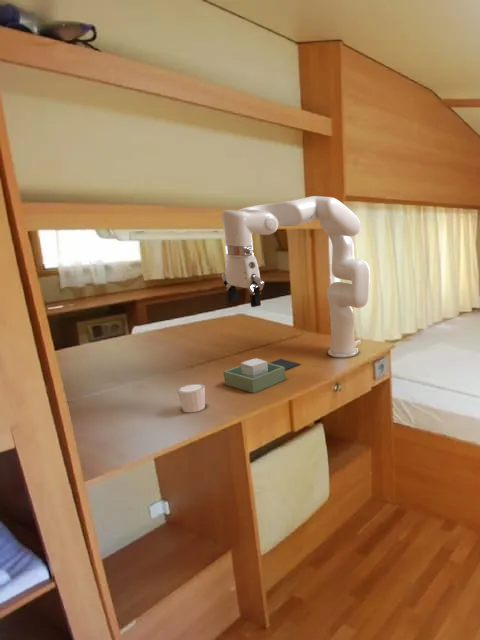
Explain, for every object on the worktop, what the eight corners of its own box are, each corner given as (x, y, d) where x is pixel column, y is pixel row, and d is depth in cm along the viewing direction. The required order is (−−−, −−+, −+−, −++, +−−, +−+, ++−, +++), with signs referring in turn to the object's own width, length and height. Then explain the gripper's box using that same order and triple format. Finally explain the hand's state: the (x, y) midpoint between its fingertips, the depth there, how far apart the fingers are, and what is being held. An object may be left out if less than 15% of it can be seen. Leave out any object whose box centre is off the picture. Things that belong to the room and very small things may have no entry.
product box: (242, 381, 152) (240, 362, 150) (257, 376, 157) (256, 357, 155) (254, 385, 149) (252, 366, 147) (269, 379, 155) (267, 361, 153)
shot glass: (201, 413, 130) (198, 392, 128) (176, 413, 128) (172, 392, 126) (211, 403, 136) (208, 383, 134) (186, 403, 135) (183, 383, 133)
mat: (280, 359, 175) (280, 359, 174) (299, 364, 171) (299, 363, 171) (259, 367, 166) (259, 366, 165) (278, 372, 162) (278, 371, 162)
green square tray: (258, 372, 162) (257, 359, 160) (285, 379, 157) (284, 367, 156) (224, 384, 149) (223, 371, 148) (253, 393, 145) (252, 379, 144)
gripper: (270, 253, 134) (274, 306, 139) (230, 247, 139) (236, 298, 144) (249, 255, 127) (254, 310, 132) (208, 248, 133) (214, 302, 138)
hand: (244, 304), depth 138 cm, fingers open, 9 cm apart
